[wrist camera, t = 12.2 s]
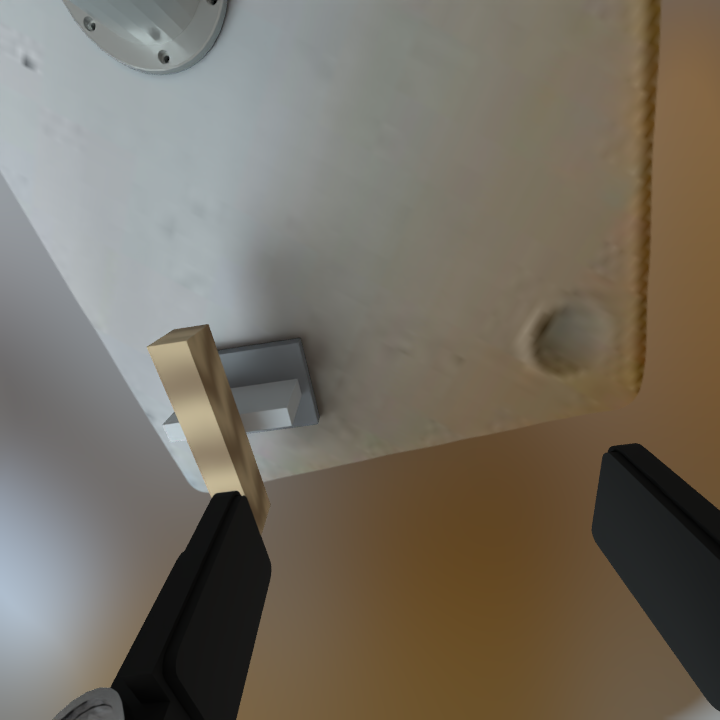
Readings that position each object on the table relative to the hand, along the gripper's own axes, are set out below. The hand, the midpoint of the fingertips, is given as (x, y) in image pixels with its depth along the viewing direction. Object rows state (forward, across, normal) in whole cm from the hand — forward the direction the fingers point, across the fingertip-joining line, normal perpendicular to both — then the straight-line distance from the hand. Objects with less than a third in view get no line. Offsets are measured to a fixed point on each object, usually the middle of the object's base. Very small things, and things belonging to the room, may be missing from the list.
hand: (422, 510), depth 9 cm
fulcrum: (+28, +16, +9) cm, 34 cm away
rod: (+21, +16, +9) cm, 28 cm away
